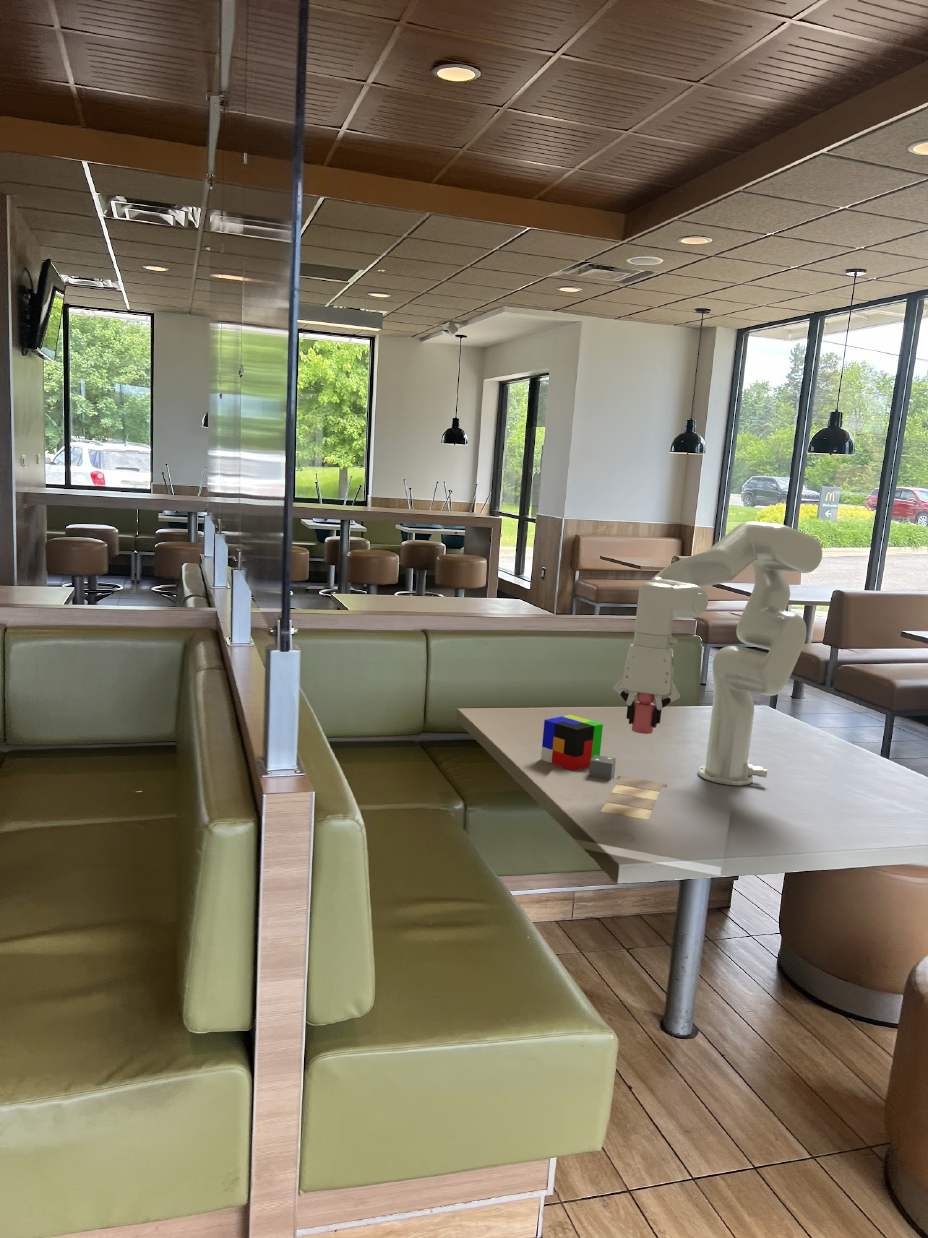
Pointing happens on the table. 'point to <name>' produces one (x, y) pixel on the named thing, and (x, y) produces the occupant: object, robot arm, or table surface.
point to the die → (602, 767)
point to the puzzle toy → (571, 741)
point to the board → (633, 798)
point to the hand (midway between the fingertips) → (642, 723)
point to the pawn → (643, 714)
